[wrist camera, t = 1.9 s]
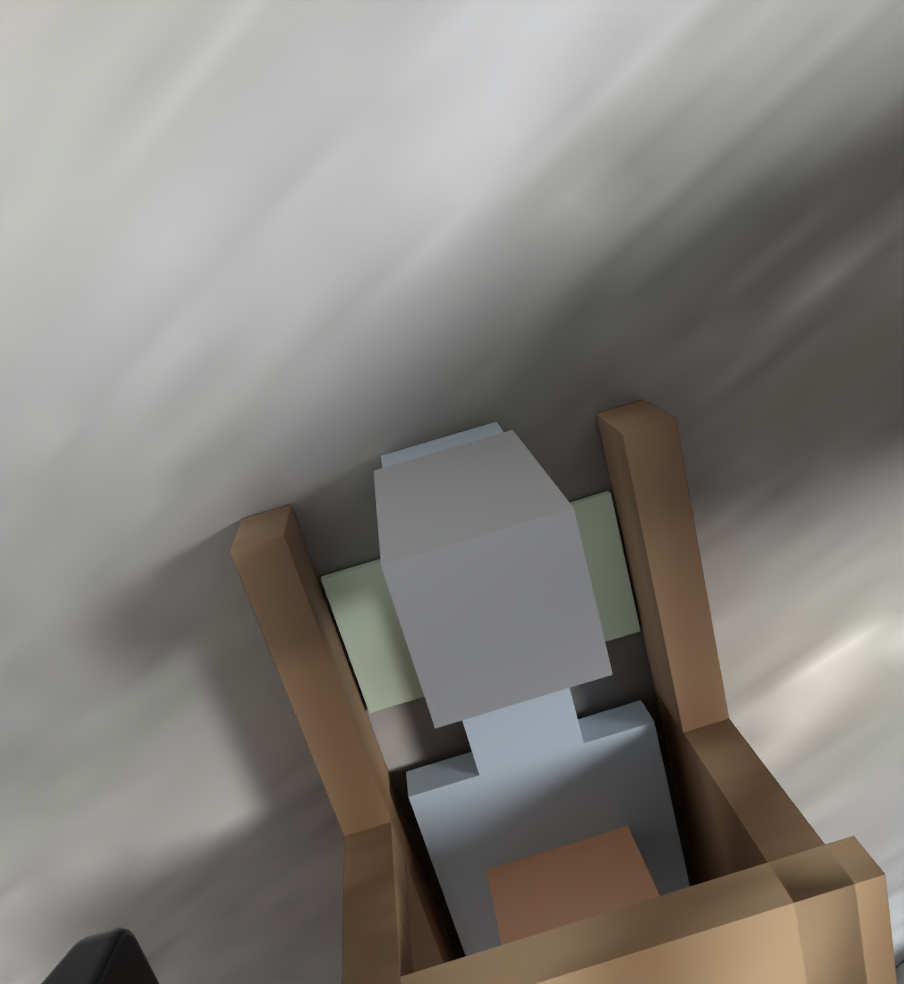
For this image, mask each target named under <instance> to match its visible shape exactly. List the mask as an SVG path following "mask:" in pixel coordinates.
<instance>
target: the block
mask: <svg viewBox="0 0 904 984" xmlns="http://www.w3.org/2000/svg"><path fill="white" fill-rule="evenodd" d="M486 872H487V877H488V882H489V886H490V891H491V896H492V901H493V906H494V911H495V916H496V921H497V925H498V930H499V935H500V940H501V945H504V944H507V943H511V942H514V941H517V940H520V939H524V938H527V937H530V936H533V935H536V934H540V933H543V932H546V931H549V930H552V929H556V928H559V927H562V926H565V925H569V924H572V923H575V922H578V921H581V920H585V919H588V918H591V917H594V916H597V915H601V914H604V913H607V912H610V911H614V910H617V909H620V908H623V907H626V906H630V905H633V904H636V903H639V902H642V901H646V900H649V899H652V898H655V897H659V896H660V895H659V893H658V891H657V888H656V886H655V884H654V882H653V880H652V877H651V875H650V873H649V871H648V869H647V866H646V864H645V862H644V860H643V858H642V856H641V853H640V851H639V849H638V847H637V845H636V842H635V840H634V838H633V836H632V834H631V831H630V829H629V827H628V826H626V827H622V828H619V829H616V830H613V831H609V832H606V833H603V834H600V835H596V836H593V837H590V838H587V839H583V840H580V841H577V842H574V843H570V844H567V845H564V846H561V847H558V848H554V849H551V850H548V851H545V852H541V853H538V854H535V855H532V856H528V857H525V858H522V859H519V860H515V861H512V862H509V863H506V864H502V865H499V866H496V867H493V868H489V869H486Z"/></svg>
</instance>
